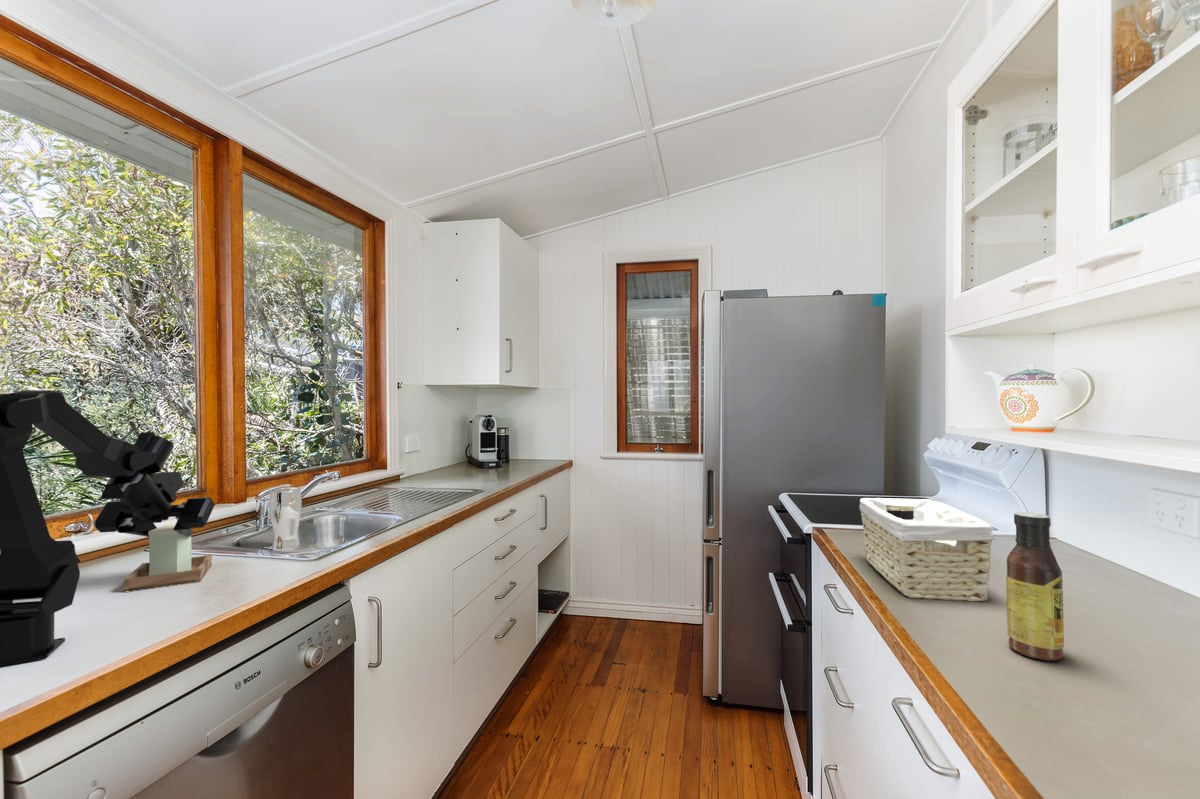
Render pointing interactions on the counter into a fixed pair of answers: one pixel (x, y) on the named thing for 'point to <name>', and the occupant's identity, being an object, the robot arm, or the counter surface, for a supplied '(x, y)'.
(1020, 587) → the sauce bottle
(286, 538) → the beer glass
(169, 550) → the tea tin
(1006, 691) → the counter surface
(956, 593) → the storage basket
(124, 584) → the tray
